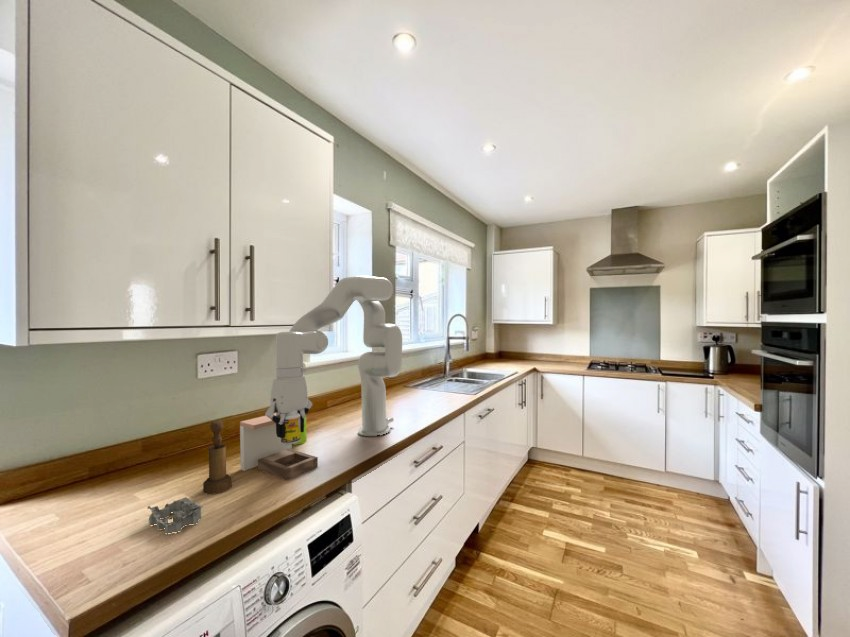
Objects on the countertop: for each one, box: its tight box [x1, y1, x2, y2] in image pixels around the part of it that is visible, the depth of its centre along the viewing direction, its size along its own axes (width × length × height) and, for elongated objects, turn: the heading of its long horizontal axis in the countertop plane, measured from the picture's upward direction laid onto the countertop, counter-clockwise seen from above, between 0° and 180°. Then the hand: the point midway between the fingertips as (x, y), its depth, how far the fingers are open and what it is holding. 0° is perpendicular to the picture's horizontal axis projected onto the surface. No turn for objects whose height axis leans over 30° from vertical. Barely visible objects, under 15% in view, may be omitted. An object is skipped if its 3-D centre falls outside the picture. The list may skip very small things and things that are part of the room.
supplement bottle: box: [281, 410, 301, 445], centre depth 105 cm, size 6×6×10 cm
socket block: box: [257, 449, 319, 481], centre depth 106 cm, size 11×14×3 cm
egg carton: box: [147, 496, 203, 534], centre depth 78 cm, size 11×8×4 cm
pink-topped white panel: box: [239, 412, 293, 472], centre depth 111 cm, size 16×8×14 cm, turn 145°
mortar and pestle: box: [202, 419, 233, 495], centre depth 94 cm, size 7×6×18 cm
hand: (290, 433), depth 105 cm, fingers closed on supplement bottle, 5 cm apart
